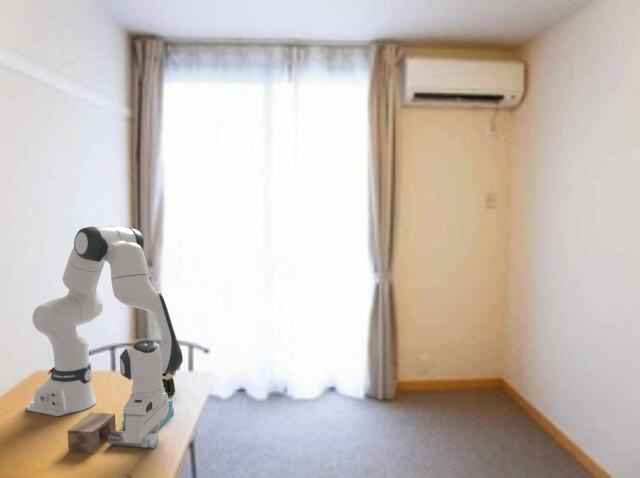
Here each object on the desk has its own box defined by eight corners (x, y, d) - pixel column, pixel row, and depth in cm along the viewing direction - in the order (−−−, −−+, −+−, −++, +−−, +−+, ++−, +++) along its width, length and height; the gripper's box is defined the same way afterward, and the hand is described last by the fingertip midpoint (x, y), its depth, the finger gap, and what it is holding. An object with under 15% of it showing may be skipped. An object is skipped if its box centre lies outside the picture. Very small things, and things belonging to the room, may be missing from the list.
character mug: (154, 400, 190) (153, 365, 188) (149, 393, 196) (147, 359, 194) (184, 393, 196) (183, 359, 194) (177, 387, 202) (176, 354, 200)
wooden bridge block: (68, 451, 154) (67, 430, 153) (92, 432, 166) (91, 412, 165) (93, 453, 153) (92, 432, 152) (115, 433, 165) (114, 414, 164)
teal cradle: (122, 428, 169) (121, 411, 168) (140, 411, 180) (140, 396, 180) (157, 430, 167) (157, 413, 166) (173, 414, 179) (173, 398, 178)
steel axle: (108, 447, 156) (107, 434, 156) (115, 440, 160) (114, 428, 160) (152, 450, 154) (151, 437, 154) (158, 443, 158) (158, 431, 158)
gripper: (154, 382, 165) (156, 424, 167) (120, 410, 145) (122, 458, 147) (173, 383, 165) (174, 426, 166) (141, 412, 144) (143, 460, 146)
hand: (150, 441), depth 156 cm, fingers closed on steel axle, 4 cm apart
